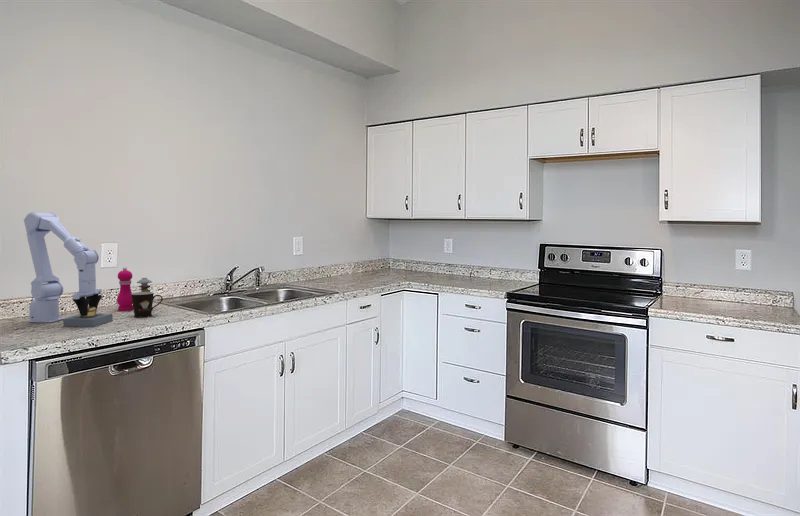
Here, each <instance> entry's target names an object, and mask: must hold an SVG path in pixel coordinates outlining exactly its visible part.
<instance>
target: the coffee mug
mask: <svg viewBox="0 0 800 516" xmlns="http://www.w3.org/2000/svg"><path fill="white" fill-rule="evenodd" d="M154 294H155V293H154V292H153V291H150V292H141V291H138V292H132V294H131V296H132V302H133V304H132V305H133V308H134V309H133V313H134V318H148V316H149V317H151V316H152V313H153V309H154V308H156V307H157V306H160V304H161V303H162V302H163V299H164V298H163V296H162V295H160V294H155V295H154ZM156 297H160V301H159V302H158V303H157V304H156V305H154V306H153V304H154V303H153V302H154V300H155V298H156Z"/></svg>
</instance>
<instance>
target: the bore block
mask: <svg viewBox="0 0 800 516" xmlns="http://www.w3.org/2000/svg"><path fill="white" fill-rule="evenodd" d="M63 318H64V319H62V326H63V327H67V326H78V328H82V327H83V328H96V327H98V326H101V325H105V324H107V323H111V322H113V319H114V318H113V313H102V312H101V313H98V312H96V316H95V317H88V318H82V316H81V315H80V313H79V314H76V315H72V316H68V317H63ZM110 321H111V322H110Z"/></svg>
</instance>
